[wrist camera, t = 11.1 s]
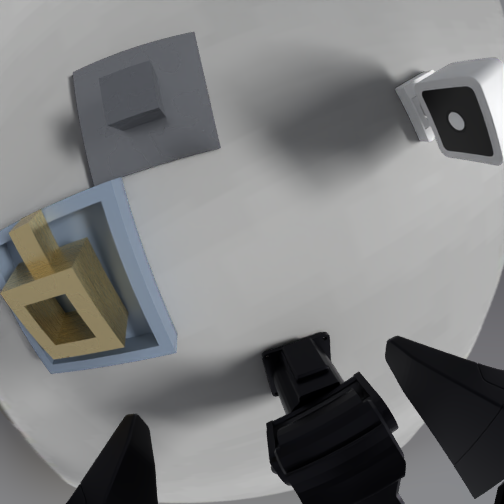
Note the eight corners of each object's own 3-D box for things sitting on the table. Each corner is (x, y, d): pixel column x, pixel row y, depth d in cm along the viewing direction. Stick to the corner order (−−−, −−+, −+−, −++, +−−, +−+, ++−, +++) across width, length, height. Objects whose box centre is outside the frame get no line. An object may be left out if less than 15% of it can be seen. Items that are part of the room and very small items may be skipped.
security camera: (381, 90, 18) (475, 75, 9) (422, 67, 18) (504, 54, 8) (412, 153, 20) (504, 168, 11) (448, 123, 20) (528, 129, 11)
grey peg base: (220, 148, 17) (226, 145, 14) (96, 186, 16) (73, 194, 13) (194, 33, 14) (194, 7, 10) (74, 73, 13) (51, 58, 9)
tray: (177, 333, 21) (176, 352, 19) (58, 357, 20) (50, 373, 18) (121, 177, 17) (110, 180, 14) (-2, 232, 15) (-18, 241, 13)
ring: (128, 312, 19) (124, 347, 17) (62, 328, 19) (53, 359, 16) (69, 196, 14) (48, 220, 11) (0, 230, 13) (-23, 256, 10)
